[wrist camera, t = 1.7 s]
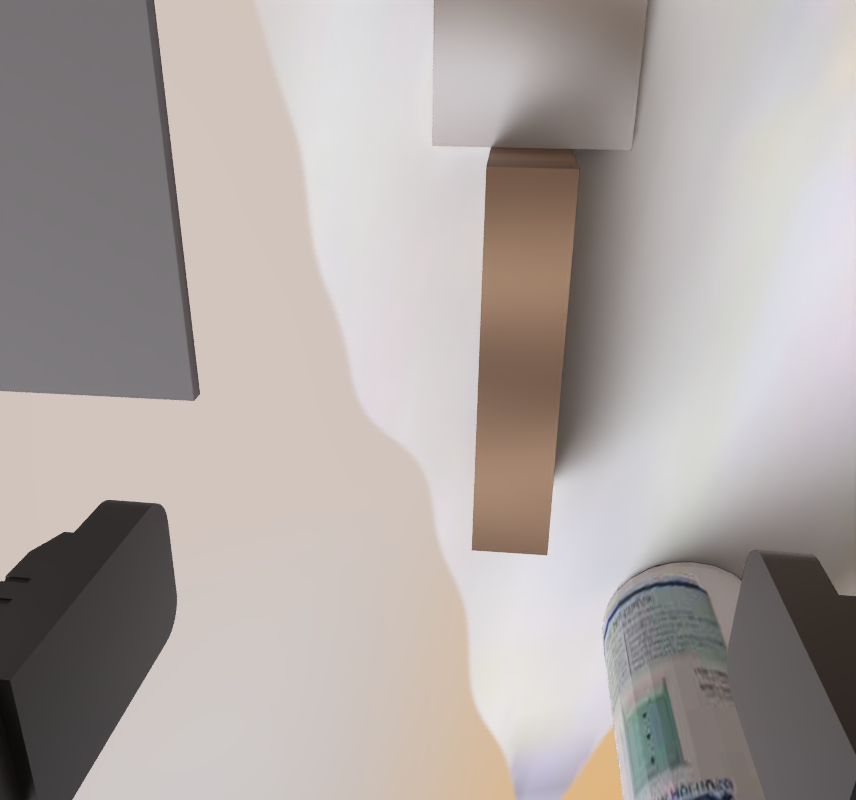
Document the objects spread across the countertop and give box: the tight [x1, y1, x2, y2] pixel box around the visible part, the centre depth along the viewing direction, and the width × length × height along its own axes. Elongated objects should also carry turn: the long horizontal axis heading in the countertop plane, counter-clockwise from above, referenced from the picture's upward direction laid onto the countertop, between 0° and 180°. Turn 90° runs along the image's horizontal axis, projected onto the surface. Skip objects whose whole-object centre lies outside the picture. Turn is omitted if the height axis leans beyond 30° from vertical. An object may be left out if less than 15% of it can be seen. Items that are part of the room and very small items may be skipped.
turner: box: [432, 0, 648, 555], centre depth 24 cm, size 20×6×4 cm, turn 179°
